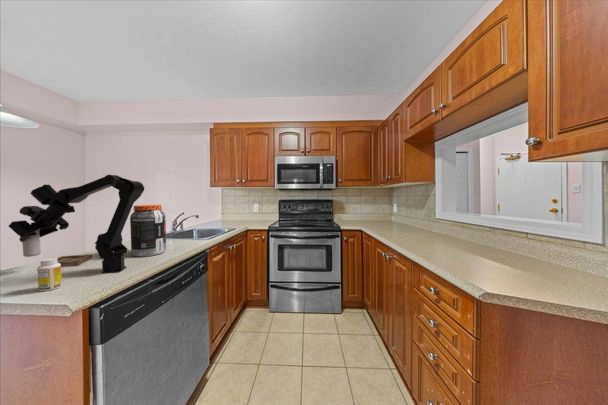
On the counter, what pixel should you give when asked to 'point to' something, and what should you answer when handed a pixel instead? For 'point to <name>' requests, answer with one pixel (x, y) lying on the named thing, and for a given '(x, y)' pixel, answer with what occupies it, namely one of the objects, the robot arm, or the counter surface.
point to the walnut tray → (73, 260)
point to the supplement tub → (148, 230)
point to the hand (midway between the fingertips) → (27, 239)
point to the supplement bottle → (49, 274)
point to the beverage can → (32, 245)
